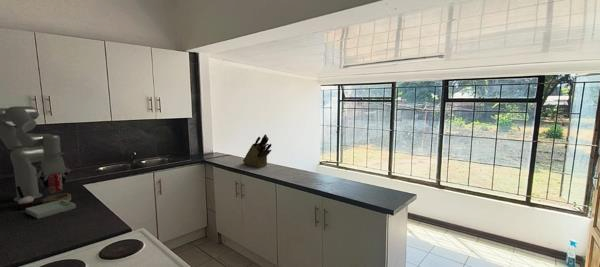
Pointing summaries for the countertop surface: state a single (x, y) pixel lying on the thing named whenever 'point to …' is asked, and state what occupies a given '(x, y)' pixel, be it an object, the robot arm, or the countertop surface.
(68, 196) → the can holder
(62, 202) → the tray
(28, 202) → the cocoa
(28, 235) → the countertop surface
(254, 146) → the knife block
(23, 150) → the robot arm
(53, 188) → the soda can
